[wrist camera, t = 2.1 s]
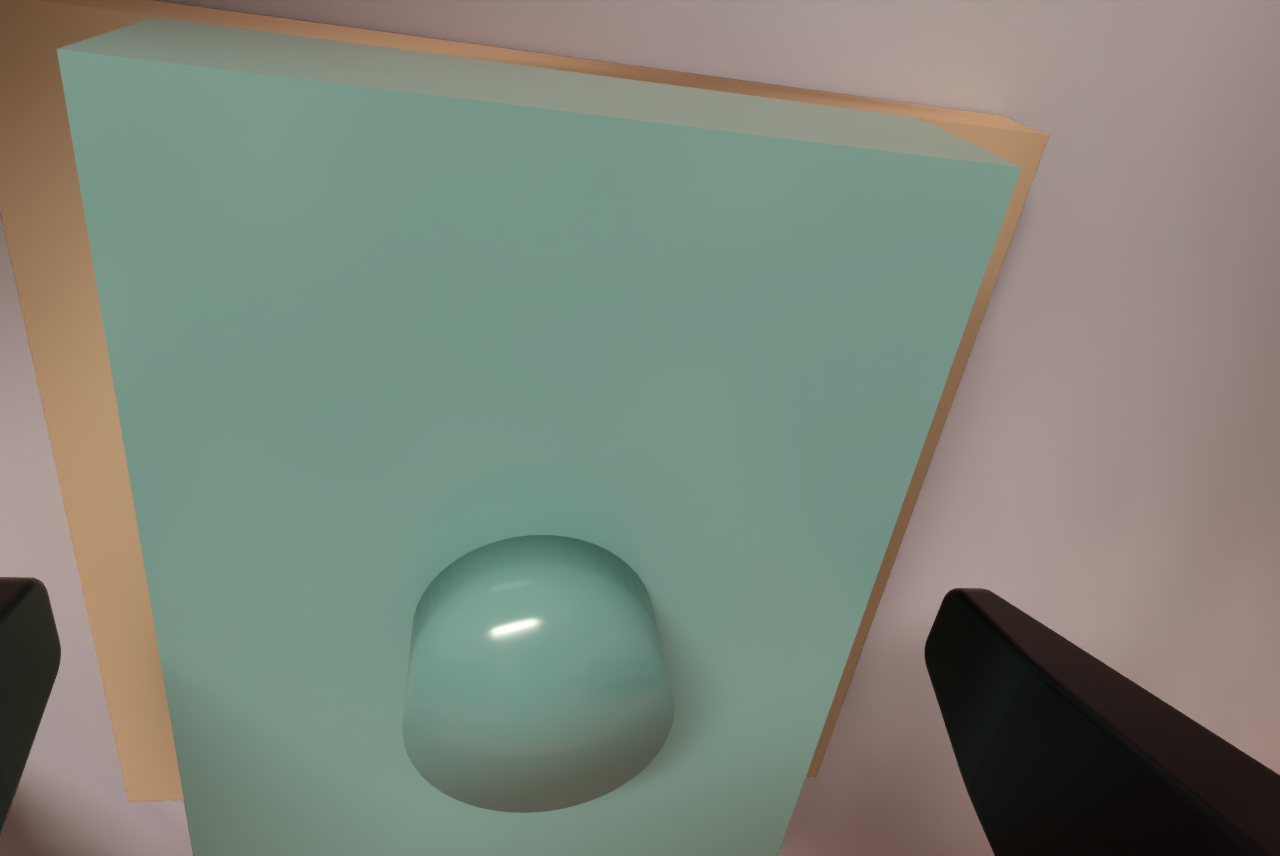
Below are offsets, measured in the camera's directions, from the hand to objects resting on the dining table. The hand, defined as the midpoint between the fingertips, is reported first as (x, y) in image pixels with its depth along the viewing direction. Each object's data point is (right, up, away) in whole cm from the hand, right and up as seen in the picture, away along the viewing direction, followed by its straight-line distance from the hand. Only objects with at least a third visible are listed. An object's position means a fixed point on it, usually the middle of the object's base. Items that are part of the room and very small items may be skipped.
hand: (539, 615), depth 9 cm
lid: (0, +1, +2) cm, 2 cm away
